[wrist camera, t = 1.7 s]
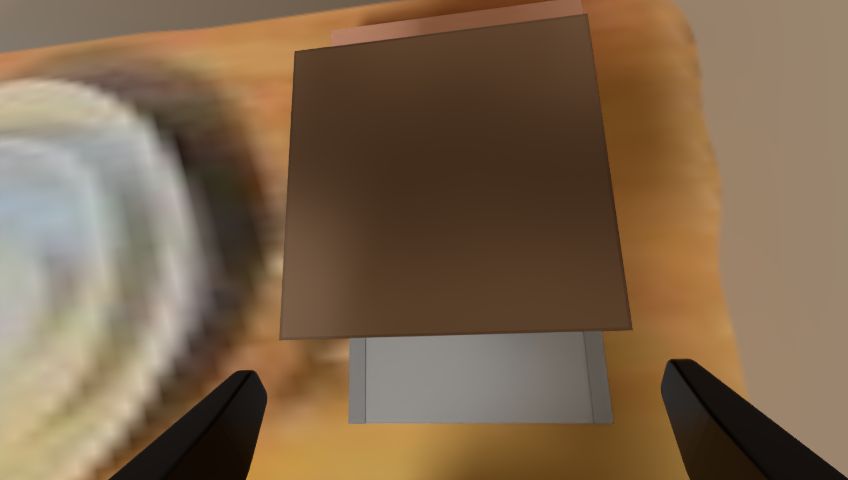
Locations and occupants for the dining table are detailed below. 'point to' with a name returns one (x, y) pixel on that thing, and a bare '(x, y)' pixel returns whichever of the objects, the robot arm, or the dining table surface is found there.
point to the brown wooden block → (451, 188)
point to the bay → (476, 354)
